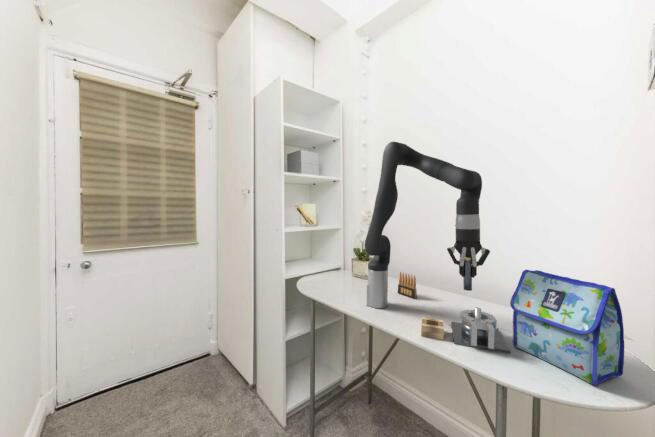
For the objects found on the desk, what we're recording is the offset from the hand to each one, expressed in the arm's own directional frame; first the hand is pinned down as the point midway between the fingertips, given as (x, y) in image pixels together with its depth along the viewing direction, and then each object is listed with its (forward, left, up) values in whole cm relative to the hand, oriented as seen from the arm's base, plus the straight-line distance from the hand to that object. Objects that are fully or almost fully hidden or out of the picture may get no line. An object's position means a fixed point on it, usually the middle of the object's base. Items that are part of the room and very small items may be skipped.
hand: (467, 276), depth 90 cm
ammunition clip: (-23, +38, -23) cm, 50 cm away
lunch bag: (+25, -4, -23) cm, 34 cm away
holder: (-11, 0, -22) cm, 25 cm away
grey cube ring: (+4, 0, -21) cm, 21 cm away
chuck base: (+4, +3, -22) cm, 23 cm away
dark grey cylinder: (0, 0, -5) cm, 5 cm away
